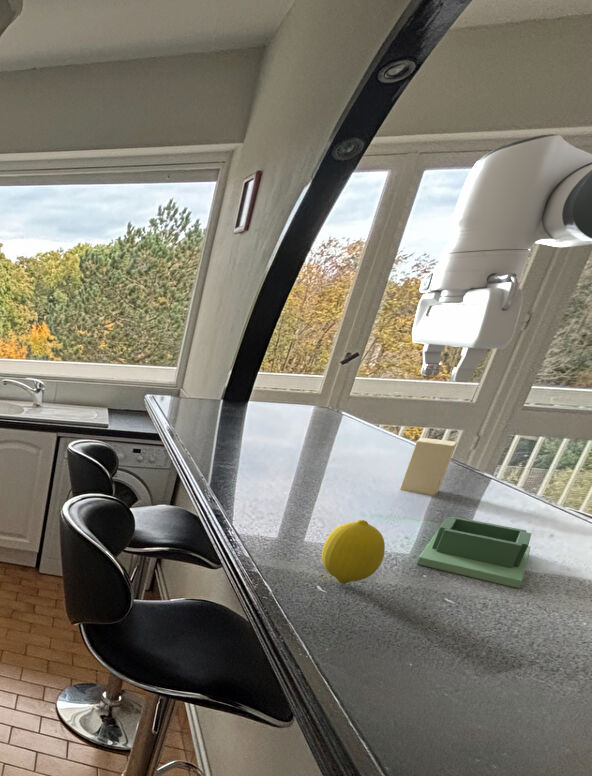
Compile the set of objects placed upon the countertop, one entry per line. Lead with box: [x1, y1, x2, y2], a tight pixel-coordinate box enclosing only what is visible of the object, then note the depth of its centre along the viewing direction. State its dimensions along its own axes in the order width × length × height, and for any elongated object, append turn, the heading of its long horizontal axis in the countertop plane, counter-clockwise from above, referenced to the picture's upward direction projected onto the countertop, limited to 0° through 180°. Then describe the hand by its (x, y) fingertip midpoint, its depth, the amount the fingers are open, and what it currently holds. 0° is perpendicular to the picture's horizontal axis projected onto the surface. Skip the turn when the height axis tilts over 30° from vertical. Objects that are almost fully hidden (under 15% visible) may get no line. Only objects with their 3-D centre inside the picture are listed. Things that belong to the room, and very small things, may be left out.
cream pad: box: [399, 437, 458, 496], centre depth 99 cm, size 4×4×10 cm
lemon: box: [321, 519, 386, 585], centre depth 68 cm, size 6×6×8 cm
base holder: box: [416, 516, 532, 589], centre depth 76 cm, size 16×9×4 cm, turn 131°
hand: (443, 378), depth 87 cm, fingers open, 8 cm apart
